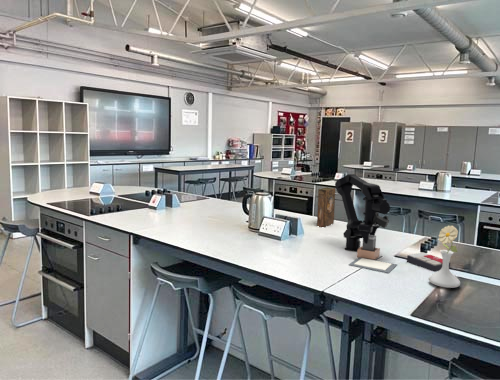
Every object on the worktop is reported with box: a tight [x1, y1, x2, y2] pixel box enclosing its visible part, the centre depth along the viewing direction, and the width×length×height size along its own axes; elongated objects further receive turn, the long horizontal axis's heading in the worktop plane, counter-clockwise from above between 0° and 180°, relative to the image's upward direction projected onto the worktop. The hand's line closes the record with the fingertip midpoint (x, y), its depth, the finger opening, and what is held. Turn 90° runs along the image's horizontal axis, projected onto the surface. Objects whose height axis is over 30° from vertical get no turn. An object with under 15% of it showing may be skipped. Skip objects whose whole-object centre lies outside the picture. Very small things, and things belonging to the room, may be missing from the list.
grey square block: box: [361, 234, 377, 252], centre depth 188 cm, size 5×5×10 cm
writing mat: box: [348, 257, 398, 274], centre depth 175 cm, size 18×14×1 cm
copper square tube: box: [356, 246, 381, 260], centre depth 188 cm, size 8×8×4 cm
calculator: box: [406, 252, 451, 273], centre depth 177 cm, size 11×4×15 cm
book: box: [316, 187, 336, 228], centre depth 258 cm, size 16×6×25 cm, turn 144°
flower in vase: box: [428, 225, 461, 289], centre depth 150 cm, size 13×11×25 cm
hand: (369, 241), depth 188 cm, fingers open, 9 cm apart
